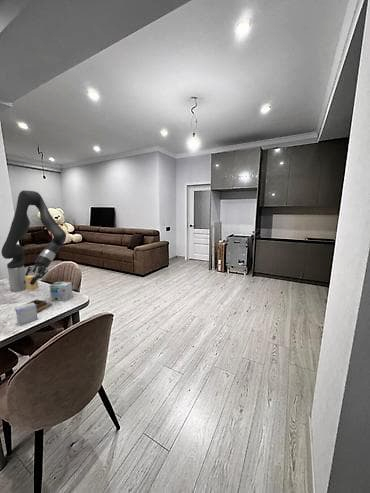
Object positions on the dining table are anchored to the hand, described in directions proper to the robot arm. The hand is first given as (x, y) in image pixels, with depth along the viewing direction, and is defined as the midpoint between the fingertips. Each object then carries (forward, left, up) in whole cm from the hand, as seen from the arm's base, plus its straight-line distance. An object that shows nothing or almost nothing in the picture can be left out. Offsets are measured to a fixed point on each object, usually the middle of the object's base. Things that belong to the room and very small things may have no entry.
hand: (28, 283), depth 114 cm
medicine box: (+9, -9, -17) cm, 21 cm away
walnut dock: (0, +2, -16) cm, 17 cm away
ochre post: (0, +2, -4) cm, 5 cm away
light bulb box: (+4, +17, -17) cm, 24 cm away
